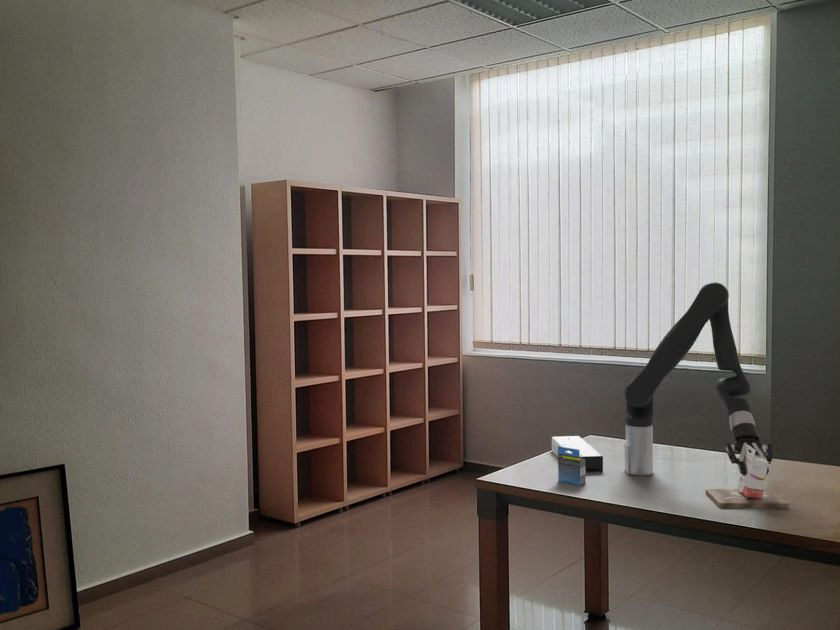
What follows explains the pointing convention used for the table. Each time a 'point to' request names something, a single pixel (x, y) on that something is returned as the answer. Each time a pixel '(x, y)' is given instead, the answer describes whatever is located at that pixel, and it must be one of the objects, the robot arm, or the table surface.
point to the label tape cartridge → (571, 466)
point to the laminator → (580, 451)
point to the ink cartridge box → (753, 474)
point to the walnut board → (745, 499)
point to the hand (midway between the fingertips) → (755, 474)
